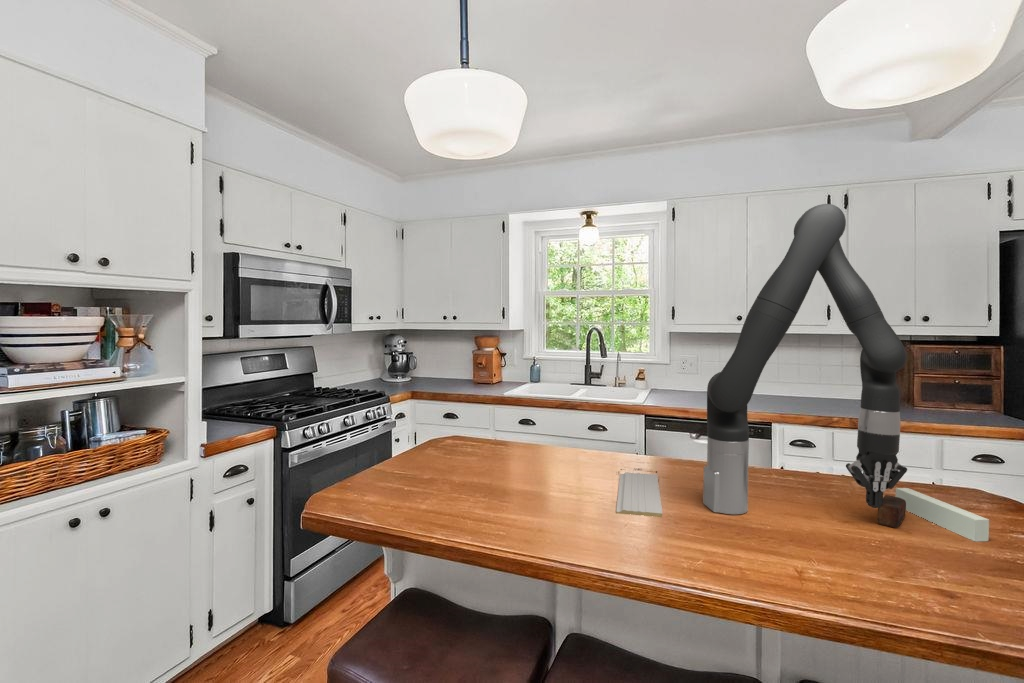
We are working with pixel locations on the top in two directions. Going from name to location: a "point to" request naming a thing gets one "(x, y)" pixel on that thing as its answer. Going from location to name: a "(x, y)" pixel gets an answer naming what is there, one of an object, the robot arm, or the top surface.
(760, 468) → the top surface
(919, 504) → the board
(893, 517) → the brick
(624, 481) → the baseboard molding
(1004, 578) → the top surface
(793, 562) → the top surface
